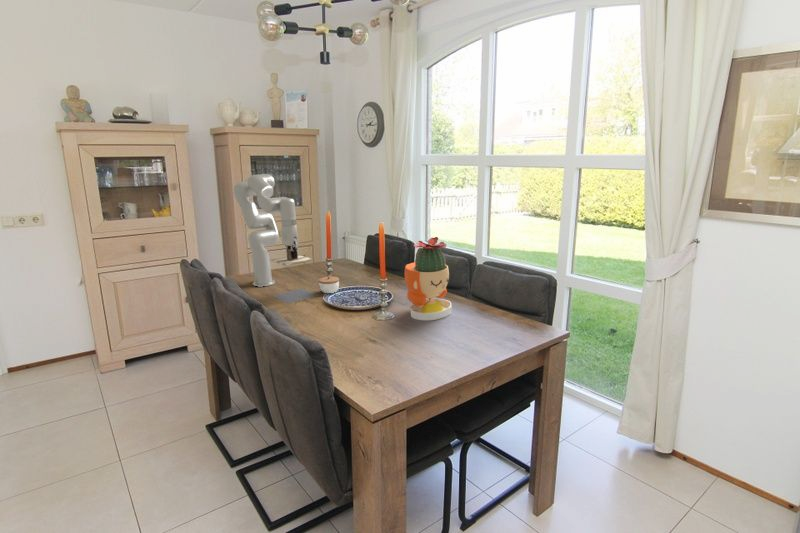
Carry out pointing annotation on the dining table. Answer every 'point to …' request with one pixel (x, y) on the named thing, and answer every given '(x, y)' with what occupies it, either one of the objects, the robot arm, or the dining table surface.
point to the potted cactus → (428, 282)
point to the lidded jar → (329, 284)
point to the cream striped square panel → (295, 295)
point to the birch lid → (290, 261)
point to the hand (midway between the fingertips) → (292, 257)
